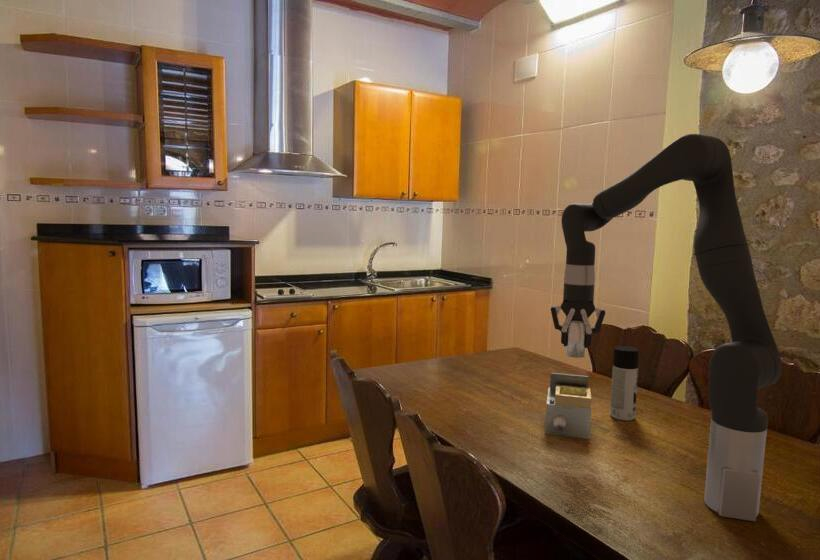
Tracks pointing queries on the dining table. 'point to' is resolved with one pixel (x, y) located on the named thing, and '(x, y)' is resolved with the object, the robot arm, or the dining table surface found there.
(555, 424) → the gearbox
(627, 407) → the spray can
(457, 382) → the dining table surface
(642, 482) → the dining table surface
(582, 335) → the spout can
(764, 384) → the robot arm
